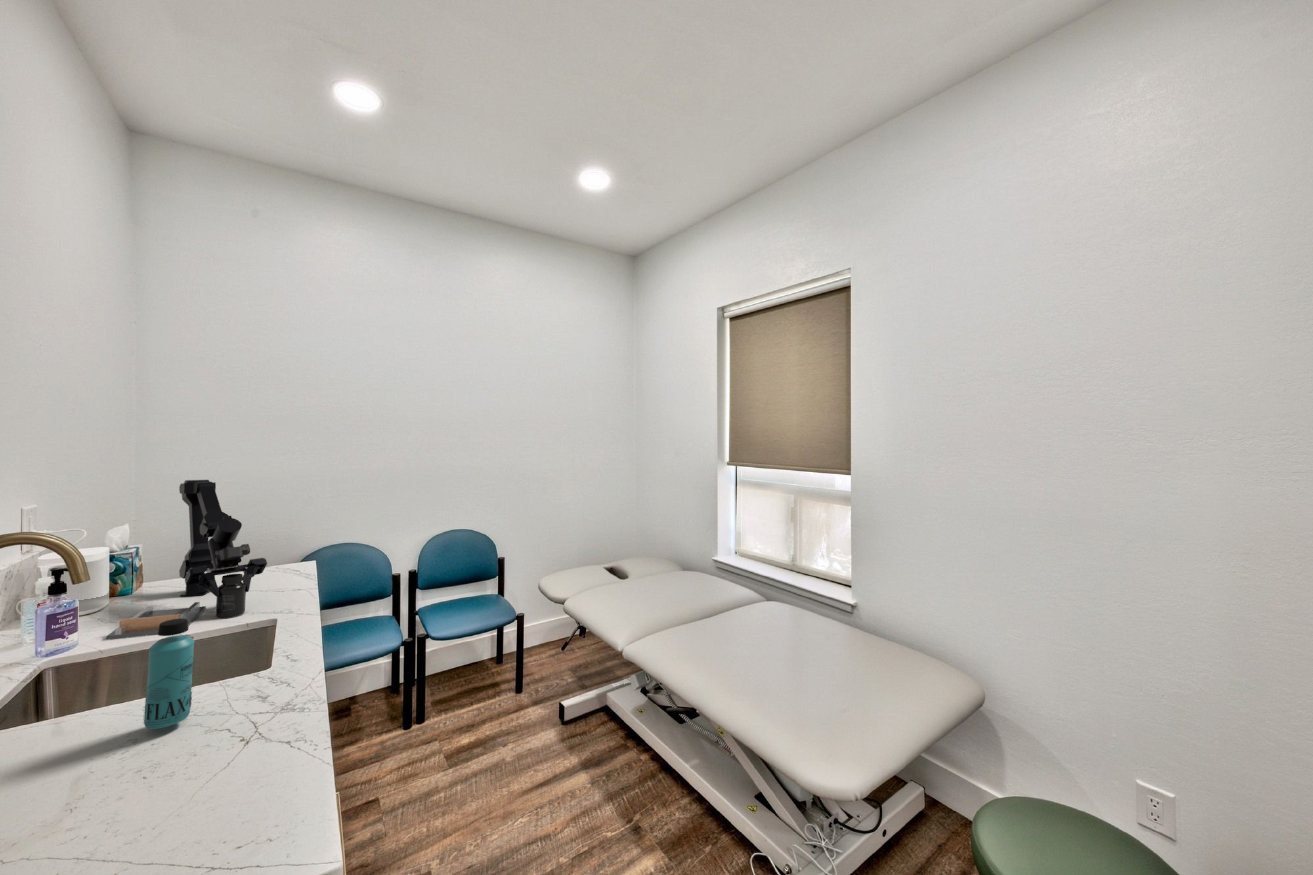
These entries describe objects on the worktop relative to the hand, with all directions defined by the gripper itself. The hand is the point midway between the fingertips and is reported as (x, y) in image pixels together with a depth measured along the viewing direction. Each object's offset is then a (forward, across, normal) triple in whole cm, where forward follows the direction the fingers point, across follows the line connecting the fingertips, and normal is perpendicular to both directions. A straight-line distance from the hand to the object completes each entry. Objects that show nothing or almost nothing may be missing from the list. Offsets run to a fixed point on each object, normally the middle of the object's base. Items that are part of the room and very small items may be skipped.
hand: (233, 593), depth 151 cm
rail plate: (0, -14, +10) cm, 17 cm away
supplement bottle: (+4, 0, +6) cm, 7 cm away
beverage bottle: (+49, -27, -39) cm, 68 cm away
